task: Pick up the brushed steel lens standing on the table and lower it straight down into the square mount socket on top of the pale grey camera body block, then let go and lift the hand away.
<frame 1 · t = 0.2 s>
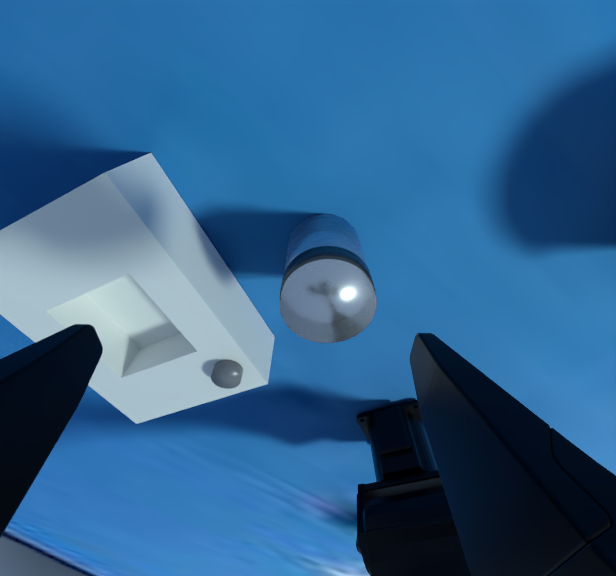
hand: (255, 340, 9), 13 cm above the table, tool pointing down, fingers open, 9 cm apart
steel lens: (323, 247, 22), on the table
camera body: (157, 288, 24), on the table
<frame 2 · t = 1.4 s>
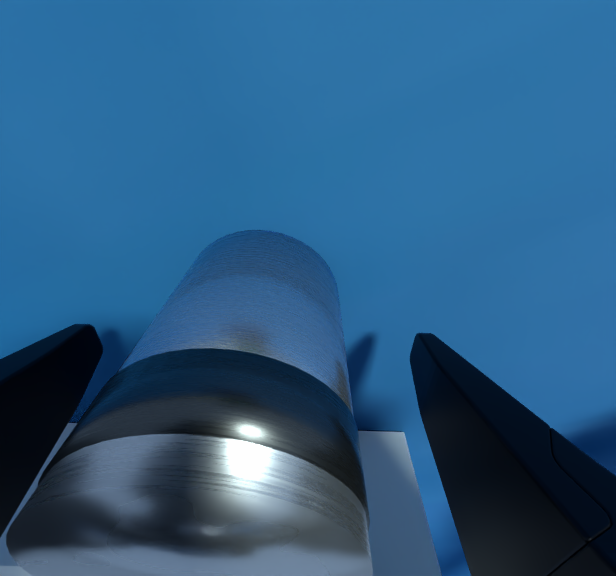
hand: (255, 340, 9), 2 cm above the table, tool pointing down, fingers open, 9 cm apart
steel lens: (263, 300, 10), on the table
camera body: (239, 492, 17), on the table
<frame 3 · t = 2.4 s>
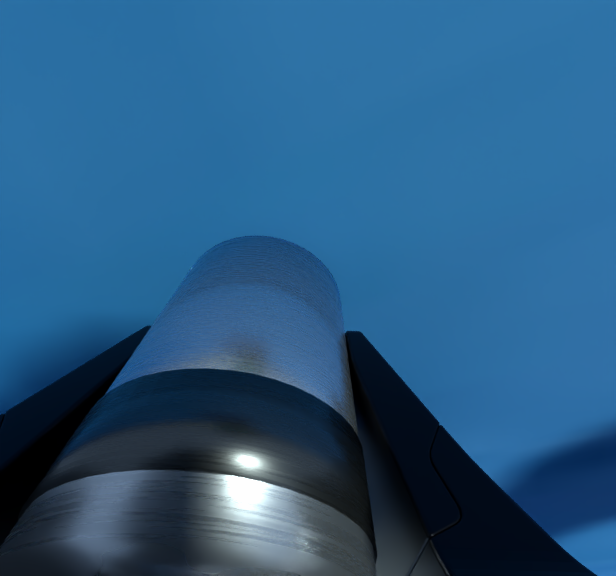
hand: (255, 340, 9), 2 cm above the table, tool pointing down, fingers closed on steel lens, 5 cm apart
steel lens: (263, 308, 10), on the table, touching gripper
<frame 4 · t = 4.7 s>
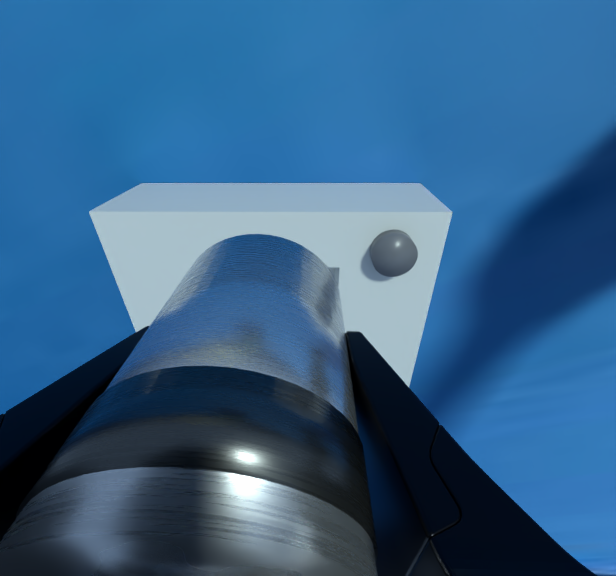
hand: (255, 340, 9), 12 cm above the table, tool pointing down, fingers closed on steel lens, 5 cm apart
steel lens: (263, 306, 10), point 10 cm above the table, touching gripper
camera body: (284, 273, 21), on the table
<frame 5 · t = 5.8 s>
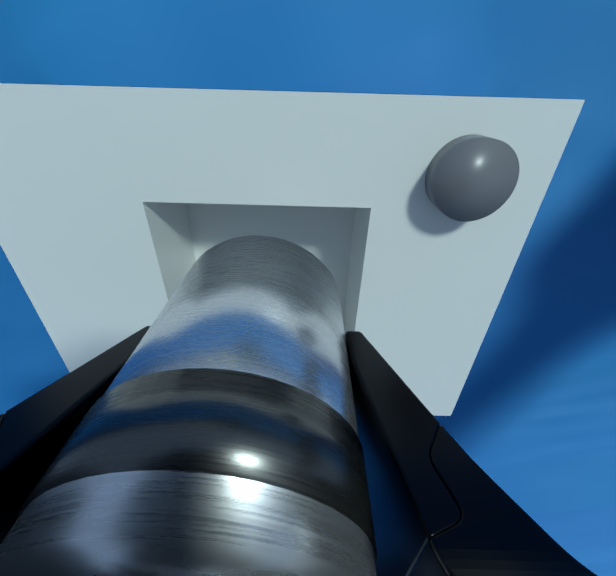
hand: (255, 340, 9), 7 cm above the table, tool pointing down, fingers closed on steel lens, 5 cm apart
steel lens: (263, 307, 10), point 6 cm above the table, touching gripper
camera body: (276, 240, 15), on the table
when the fingers open (6 cm above the table, at t = 6.8 s): steel lens drops 2 cm, resting on camera body.
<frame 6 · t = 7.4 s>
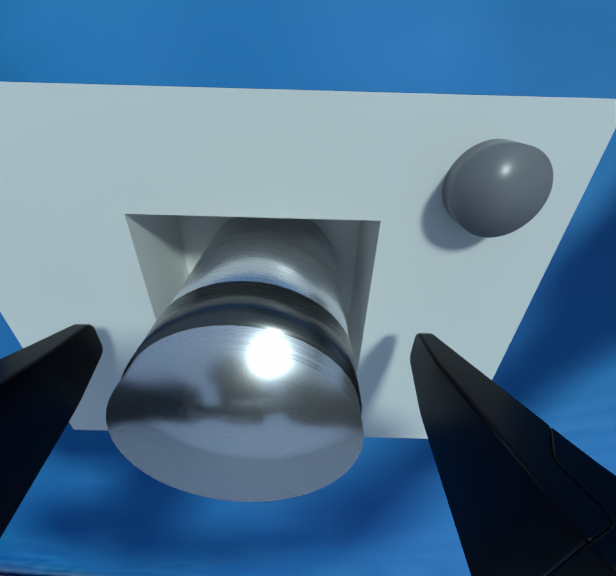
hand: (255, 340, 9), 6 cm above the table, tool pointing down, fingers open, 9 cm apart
steel lens: (273, 270, 12), point 2 cm above the table, touching camera body
camera body: (276, 249, 14), on the table
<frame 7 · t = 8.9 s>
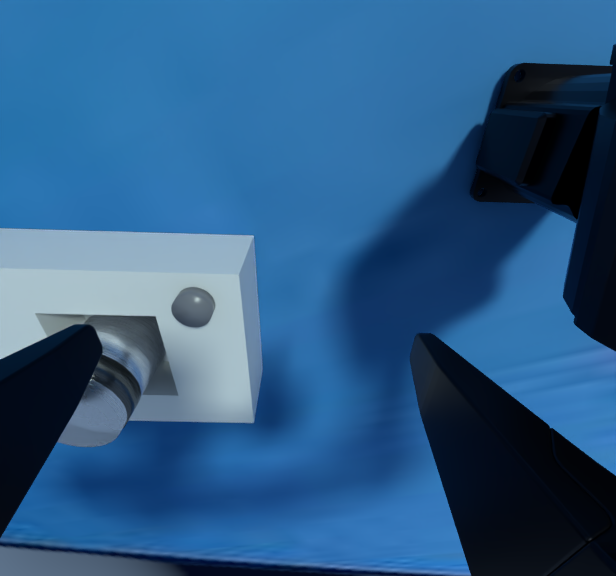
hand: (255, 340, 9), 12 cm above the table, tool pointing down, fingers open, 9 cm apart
steel lens: (137, 326, 21), point 2 cm above the table, touching camera body
camera body: (149, 309, 23), on the table
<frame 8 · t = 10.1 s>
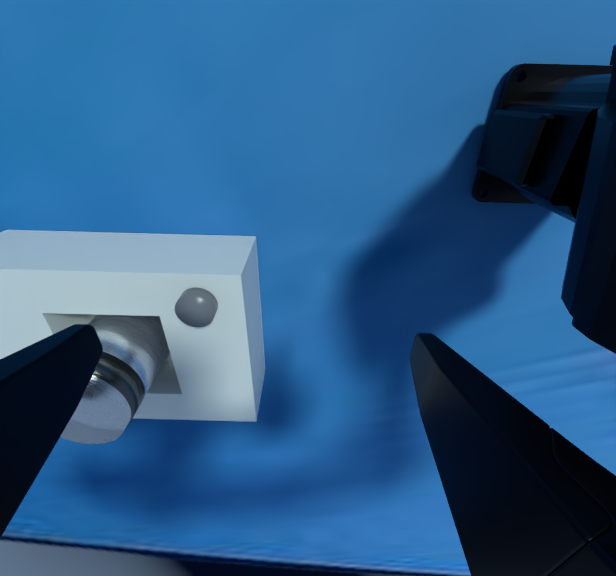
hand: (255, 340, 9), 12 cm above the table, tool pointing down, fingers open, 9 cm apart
steel lens: (141, 326, 21), point 2 cm above the table, touching camera body
camera body: (153, 308, 23), on the table
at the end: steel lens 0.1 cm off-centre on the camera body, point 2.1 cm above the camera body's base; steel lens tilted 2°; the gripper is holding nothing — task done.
